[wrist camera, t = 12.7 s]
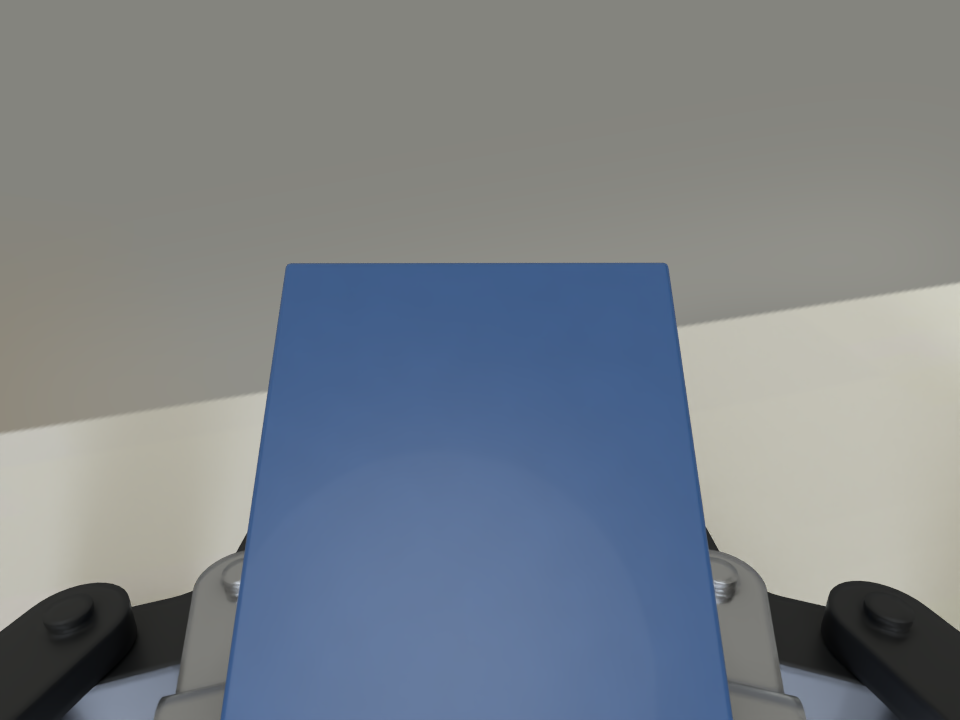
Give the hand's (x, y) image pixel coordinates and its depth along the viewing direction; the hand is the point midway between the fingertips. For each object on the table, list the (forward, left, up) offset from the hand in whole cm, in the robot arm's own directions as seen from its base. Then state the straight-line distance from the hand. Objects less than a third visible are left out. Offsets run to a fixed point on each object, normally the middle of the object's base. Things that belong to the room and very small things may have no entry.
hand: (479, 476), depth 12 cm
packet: (0, -2, -4) cm, 5 cm away
